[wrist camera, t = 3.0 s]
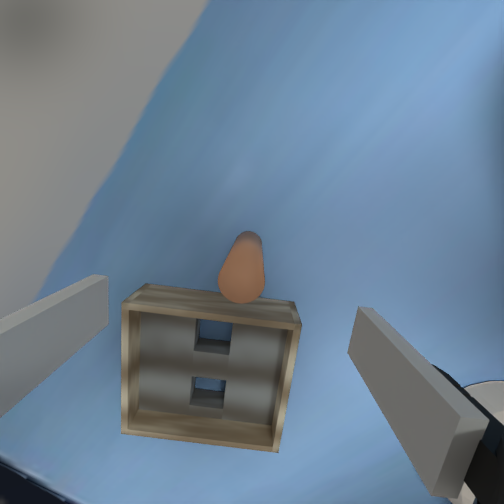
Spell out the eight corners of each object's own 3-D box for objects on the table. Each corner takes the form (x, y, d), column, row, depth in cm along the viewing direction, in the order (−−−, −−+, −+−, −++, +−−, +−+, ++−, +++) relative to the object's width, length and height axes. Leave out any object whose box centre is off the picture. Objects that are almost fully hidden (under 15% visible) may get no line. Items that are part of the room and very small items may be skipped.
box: (145, 283, 33) (121, 302, 27) (294, 301, 33) (301, 324, 27) (142, 396, 37) (121, 433, 31) (275, 412, 37) (278, 452, 31)
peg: (236, 229, 31) (220, 255, 17) (263, 232, 31) (267, 262, 17) (233, 255, 32) (215, 300, 18) (260, 258, 32) (261, 306, 18)
